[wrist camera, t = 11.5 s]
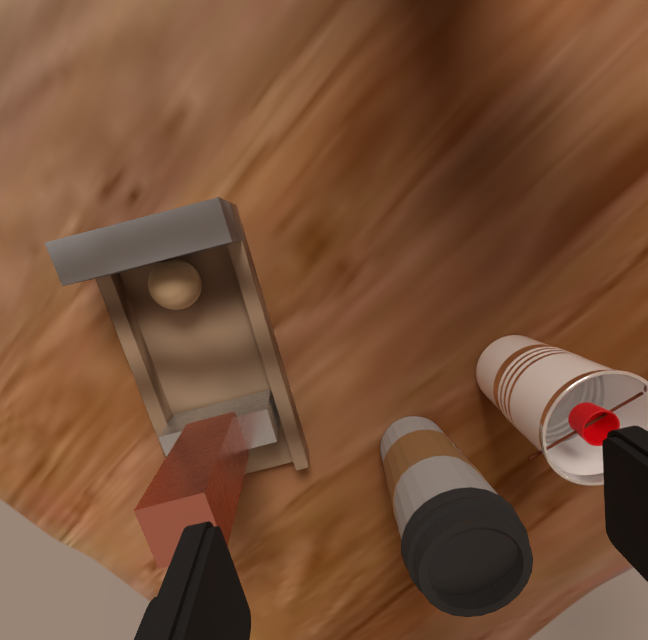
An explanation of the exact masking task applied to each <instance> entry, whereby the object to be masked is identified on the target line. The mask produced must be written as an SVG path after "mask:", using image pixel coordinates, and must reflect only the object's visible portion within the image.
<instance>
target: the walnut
mask: <svg viewBox="0 0 648 640" xmlns="http://www.w3.org/2000/svg"><path fill="white" fill-rule="evenodd" d="M201 288H202V283H201V278H200V275H199V273H198V272H197V270H196V269H195V268H194V267H193V266H192V265H191V264H189V263H187V262H185V261H182V260H178V259H170V260H165V261H163V262H161V263H159V264H158V265H156V266H155V267H154V268H153V270H152V271H151V273H150V275H149V278H148V289H149V292H150V295H151V296H152V298H153V299H154V300H155V301H156V302H157V303H158V304H159V305H161V306H163V307H165V308H167V309H172V310H179V309H184V308H186V307H189V306H190V305H192V304H193V303H194V302H195V301H196V300H197V299H198V297H199V295H200V293H201Z"/></svg>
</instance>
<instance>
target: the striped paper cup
mask: <svg viewBox="0 0 648 640" xmlns="http://www.w3.org/2000/svg"><path fill="white" fill-rule="evenodd" d="M476 380H477V383H478V386H479V387H480V389H481V391H482V392H483V393H484V394H485V395H486V397H487V398H488V399H489V400H490V401H491V402H492V403H493V404H494V405H495V406H496V407H497V408H498V409H499V410H500V411H501V412H502V413H503V415H504V416H505V417H506V418H507V419H508V420H509V421H510V422H511V423H512V424H513V425H514V427H515V428H516V429H517V430H518V431H519V432H520V433H521V434H522V435H523V436H525V437H526V438H527V439H528V440H529V441H530V442H531V443H532V444H533V445H534V446H535V447H536V448H537V449H538V450H539V452H537V453H535V454H533V455H532V456H530V457H528V459H529V460H531V459H533V458H535V457H536V456H538V455H540V454H543V455H544V456H545V459H546V461H547V462H548V464H549V466H550V467H551V468H552V469H553V470H554V471H555V472H556V473H557V474H558V475H559V476H561V477H562V478H564V479H566V480H568V481H570V482H573V483H576V484H580V485H590V486H594V485H603V484H604V475H603V451H602V442H603V440H604V439H606V438H607V434H608V432H609V431H612V430H616V429H620V428H625V427H629V426H633V425H634V426H639V427H642V428H643V429H645V430H647V431H648V381H647V380H646V379H644V378H643V377H641V376H639V375H637V374H635V373H632V372H629V371H624V370H614V369H611V368H609V367H606V366H604V365H601V364H598V363H596V362H593V361H591V360H589V359H586V358H584V357H582V356H579V355H577V354H574V353H571V352H569V351H566V350H563V349H561V348H557V347H554V346H551V345H548V344H545V343H542V342H539V341H537V340H534V339H531V338H529V337H526V336H521V335H509V336H504V337H501V338H499V339H497V340H495V341H494V342H492V343H491V344H490V345H489V346H488V347H487V348H486V349H485V350H484V351H483V352H482V354H481V356H480V358H479V360H478V362H477V366H476Z"/></svg>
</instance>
